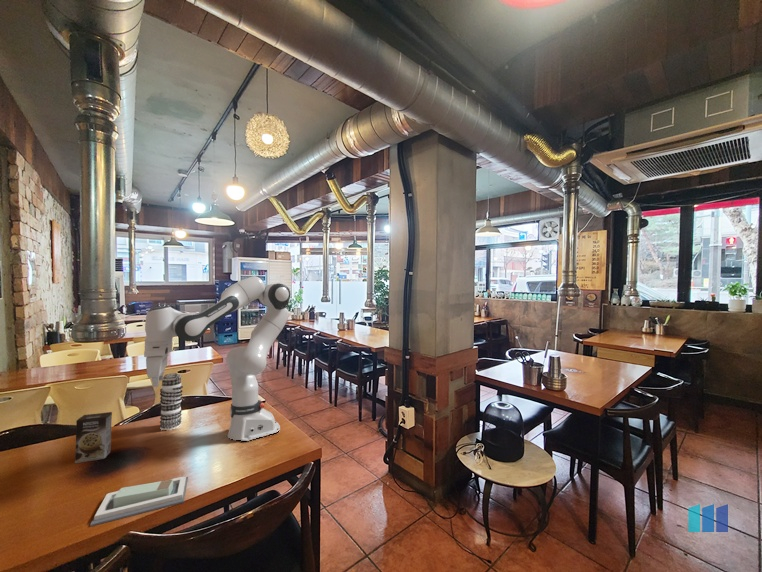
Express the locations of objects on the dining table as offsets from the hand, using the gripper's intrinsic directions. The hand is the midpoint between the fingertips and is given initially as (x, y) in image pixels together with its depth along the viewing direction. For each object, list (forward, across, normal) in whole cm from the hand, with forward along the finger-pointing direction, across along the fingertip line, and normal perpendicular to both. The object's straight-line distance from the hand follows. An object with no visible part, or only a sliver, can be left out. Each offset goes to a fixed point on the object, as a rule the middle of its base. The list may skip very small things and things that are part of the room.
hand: (157, 383), depth 122 cm
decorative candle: (+29, -31, +1) cm, 43 cm away
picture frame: (+29, +27, +1) cm, 40 cm away
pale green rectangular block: (+29, +27, +1) cm, 39 cm away
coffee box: (+29, -12, -22) cm, 39 cm away
